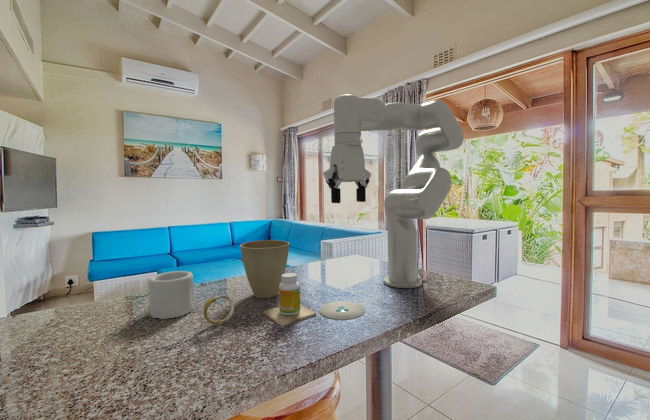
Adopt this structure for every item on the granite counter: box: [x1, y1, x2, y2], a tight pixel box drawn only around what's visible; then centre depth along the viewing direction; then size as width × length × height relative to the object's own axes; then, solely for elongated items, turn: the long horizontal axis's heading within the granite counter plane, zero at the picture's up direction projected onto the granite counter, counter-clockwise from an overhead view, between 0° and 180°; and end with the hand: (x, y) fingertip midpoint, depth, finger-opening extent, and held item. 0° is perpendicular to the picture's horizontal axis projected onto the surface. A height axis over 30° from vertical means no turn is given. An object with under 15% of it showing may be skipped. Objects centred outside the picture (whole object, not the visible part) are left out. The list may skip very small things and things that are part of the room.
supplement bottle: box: [278, 272, 301, 315], centre depth 79 cm, size 5×5×10 cm
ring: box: [202, 290, 235, 326], centre depth 73 cm, size 7×3×8 cm, turn 115°
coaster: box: [318, 300, 366, 321], centre depth 81 cm, size 12×12×1 cm
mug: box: [147, 270, 195, 320], centre depth 83 cm, size 14×11×10 cm
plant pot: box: [239, 239, 290, 299], centre depth 94 cm, size 15×15×16 cm
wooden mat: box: [262, 304, 317, 327], centre depth 79 cm, size 10×10×1 cm
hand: (348, 202), depth 87 cm, fingers open, 9 cm apart
